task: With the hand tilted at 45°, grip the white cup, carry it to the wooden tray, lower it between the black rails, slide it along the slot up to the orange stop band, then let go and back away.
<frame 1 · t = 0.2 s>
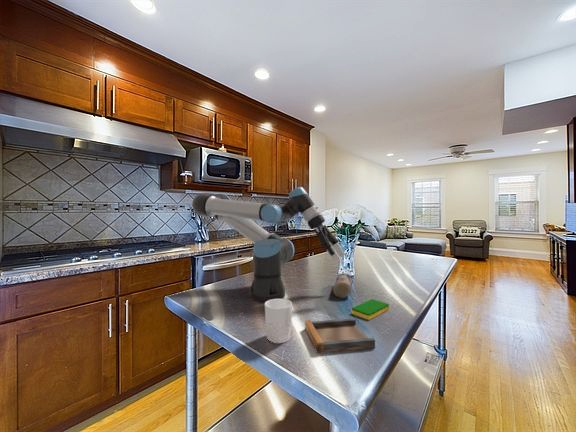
hand: (340, 258, 110), 15 cm above the table, tool tilted 35°, fingers open, 13 cm apart
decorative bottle: (345, 290, 117), on the table
wooden tray: (337, 337, 74), on the table
dish sponge: (370, 313, 93), on the table
white cup: (278, 338, 74), on the table
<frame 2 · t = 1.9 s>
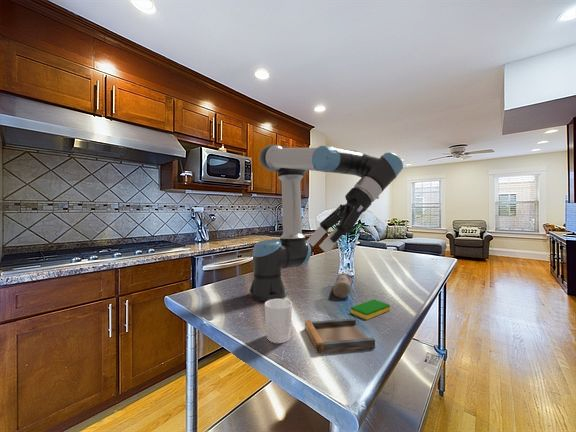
hand: (315, 246, 75), 26 cm above the table, tool tilted 45°, fingers open, 13 cm apart
nothing on the table moved.
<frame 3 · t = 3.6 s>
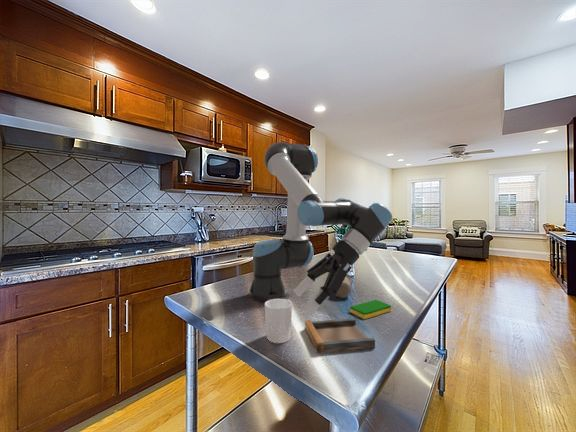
hand: (301, 302, 73), 11 cm above the table, tool tilted 45°, fingers open, 13 cm apart
nothing on the table moved.
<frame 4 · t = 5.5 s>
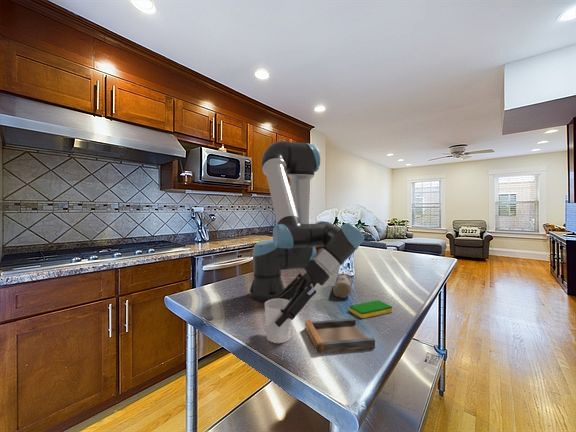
hand: (266, 325, 73), 4 cm above the table, tool tilted 45°, fingers closed on white cup, 8 cm apart
white cup: (278, 338, 74), on the table, touching gripper
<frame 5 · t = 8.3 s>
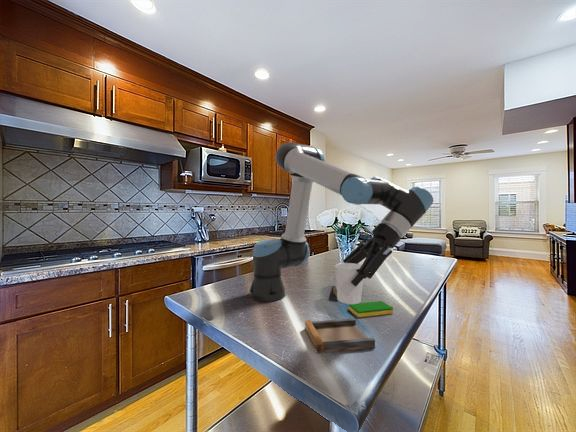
hand: (337, 287, 73), 15 cm above the table, tool tilted 45°, fingers closed on white cup, 8 cm apart
white cup: (349, 300, 74), point 11 cm above the table, touching gripper
when the fingers open (5 cm above the table, at t = 11.1 s): white cup stays where it is, resting on wooden tray.
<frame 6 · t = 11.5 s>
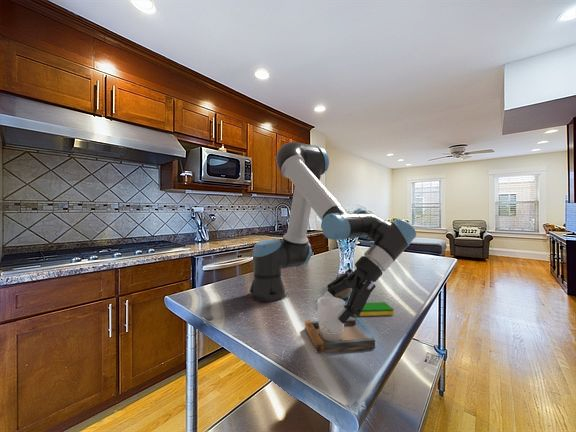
hand: (322, 318, 73), 6 cm above the table, tool tilted 45°, fingers open, 12 cm apart
white cup: (331, 336, 74), resting on wooden tray
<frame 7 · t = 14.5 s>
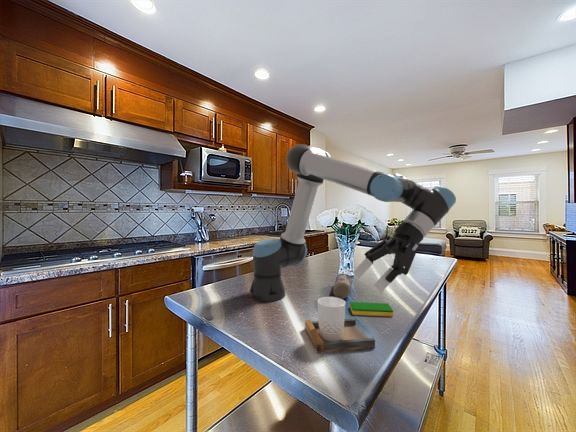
hand: (365, 281, 75), 16 cm above the table, tool tilted 45°, fingers open, 13 cm apart
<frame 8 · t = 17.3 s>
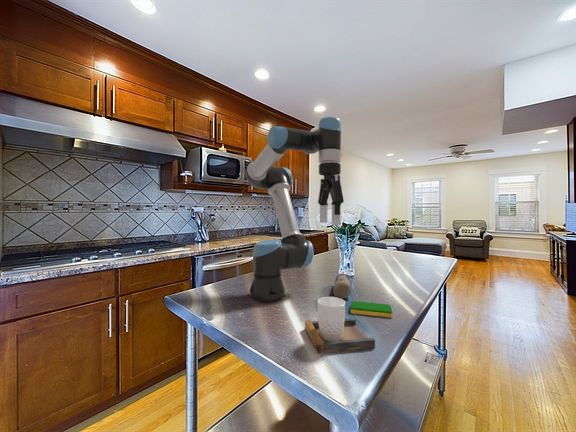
hand: (329, 223, 91), 32 cm above the table, tool pointing down, fingers open, 13 cm apart
at the end: white cup 0.1 cm from the target spot on the wooden tray, point 0.4 cm above the wooden tray's base; white cup tilted 0°; the gripper is holding nothing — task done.
